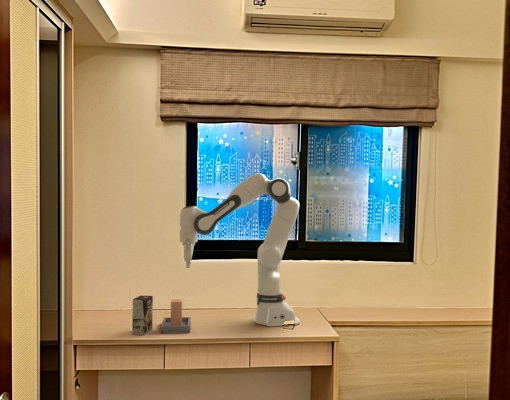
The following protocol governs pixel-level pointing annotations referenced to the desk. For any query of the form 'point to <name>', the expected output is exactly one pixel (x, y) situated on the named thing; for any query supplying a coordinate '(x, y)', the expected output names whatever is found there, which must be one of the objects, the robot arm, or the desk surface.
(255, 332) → the desk surface
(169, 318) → the tray
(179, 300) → the block
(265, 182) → the robot arm
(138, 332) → the coffee box
